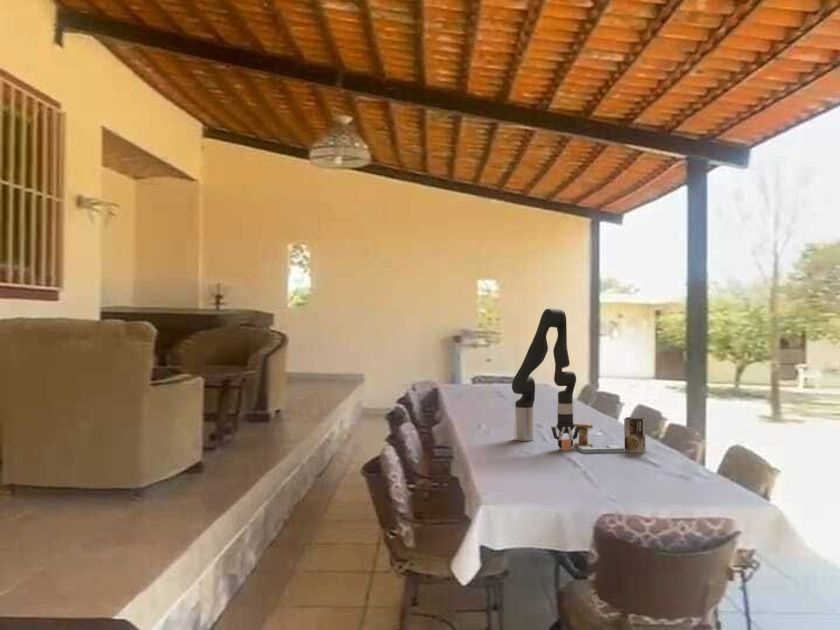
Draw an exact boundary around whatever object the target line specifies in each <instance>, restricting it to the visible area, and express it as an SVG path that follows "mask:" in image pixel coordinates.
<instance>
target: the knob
mask: <svg viewBox="0 0 840 630" xmlns="http://www.w3.org/2000/svg"><path fill="white" fill-rule="evenodd" d="M573 424H574V426H578V427H579V432H578V441H576V442H573V447H574V448H577V446H590V447H592V448H594V447H593V442H588V441H589V440H588V439H589V431H588V429H593V423H586V422H585V423H584V422H580V423H579V422H577V423H573Z"/></svg>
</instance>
